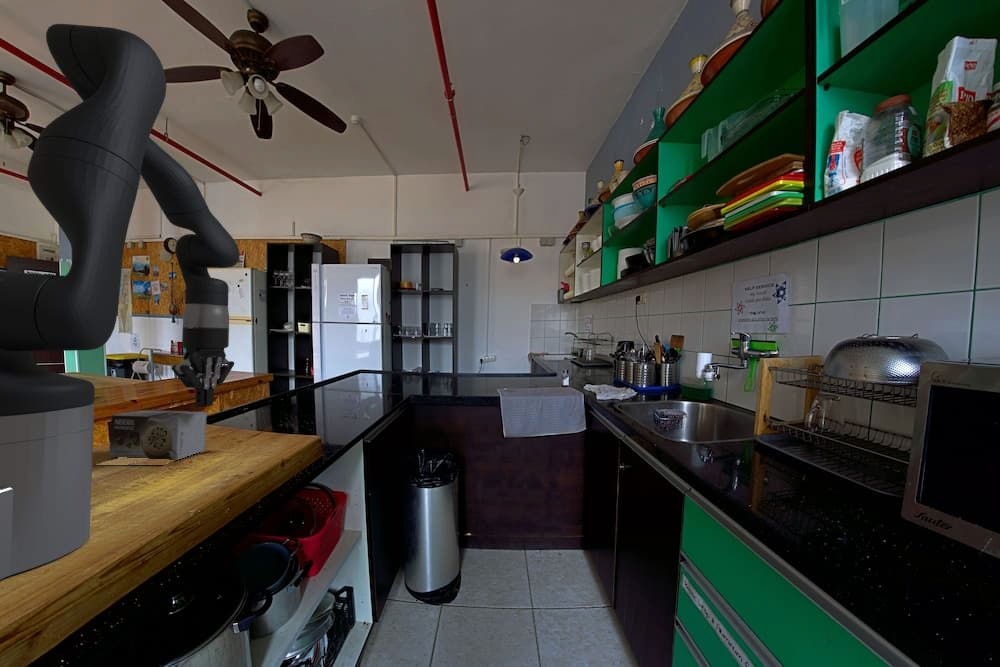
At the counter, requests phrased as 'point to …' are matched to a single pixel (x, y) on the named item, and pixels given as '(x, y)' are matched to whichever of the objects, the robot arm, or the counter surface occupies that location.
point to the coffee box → (157, 434)
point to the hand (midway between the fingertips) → (204, 406)
